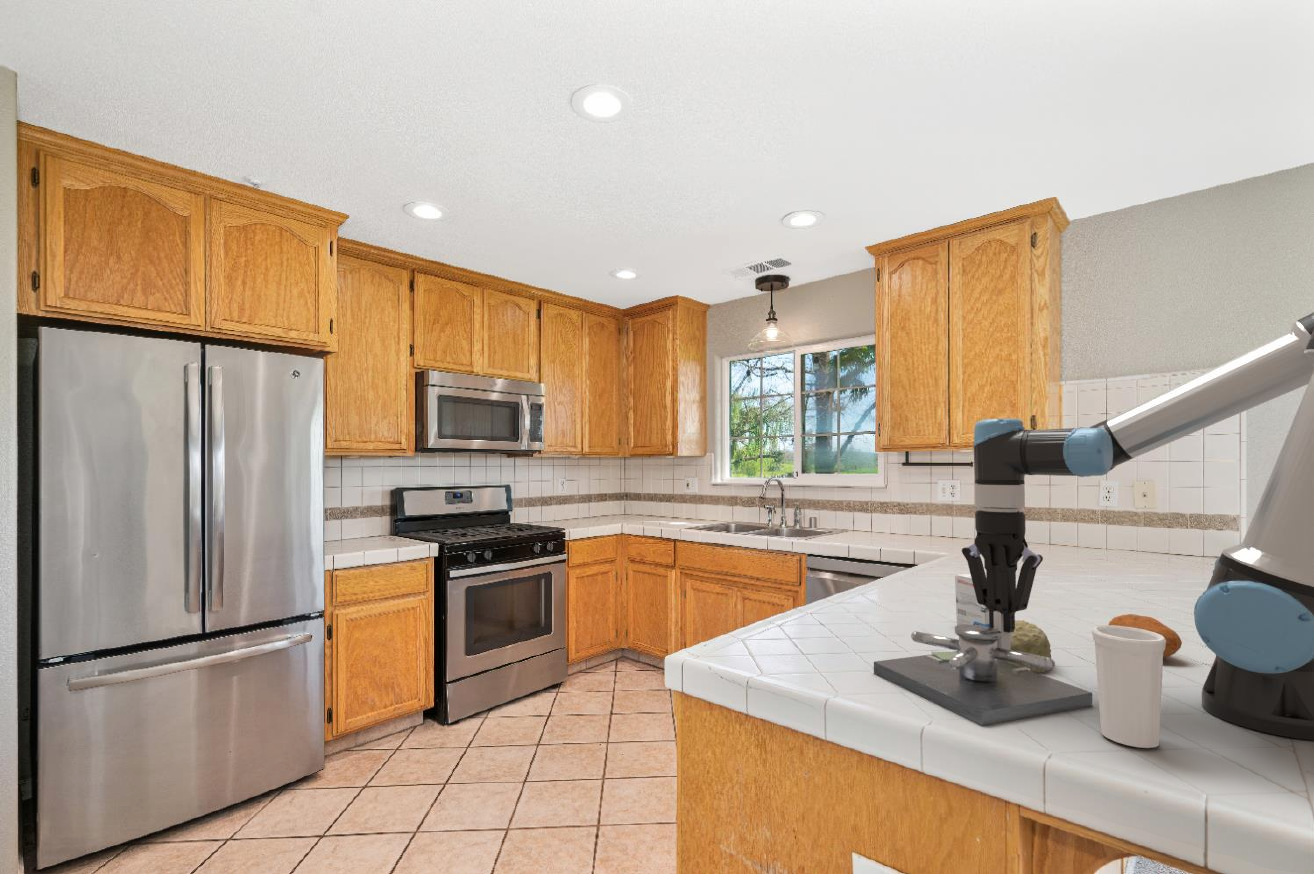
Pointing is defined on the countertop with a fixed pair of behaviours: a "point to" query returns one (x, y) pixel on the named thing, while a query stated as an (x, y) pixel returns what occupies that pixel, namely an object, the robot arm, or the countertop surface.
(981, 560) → the robot arm
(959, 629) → the capstan
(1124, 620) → the potato
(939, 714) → the countertop surface
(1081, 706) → the stand
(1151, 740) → the cup
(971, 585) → the ink box
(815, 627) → the countertop surface
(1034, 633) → the decorative object
